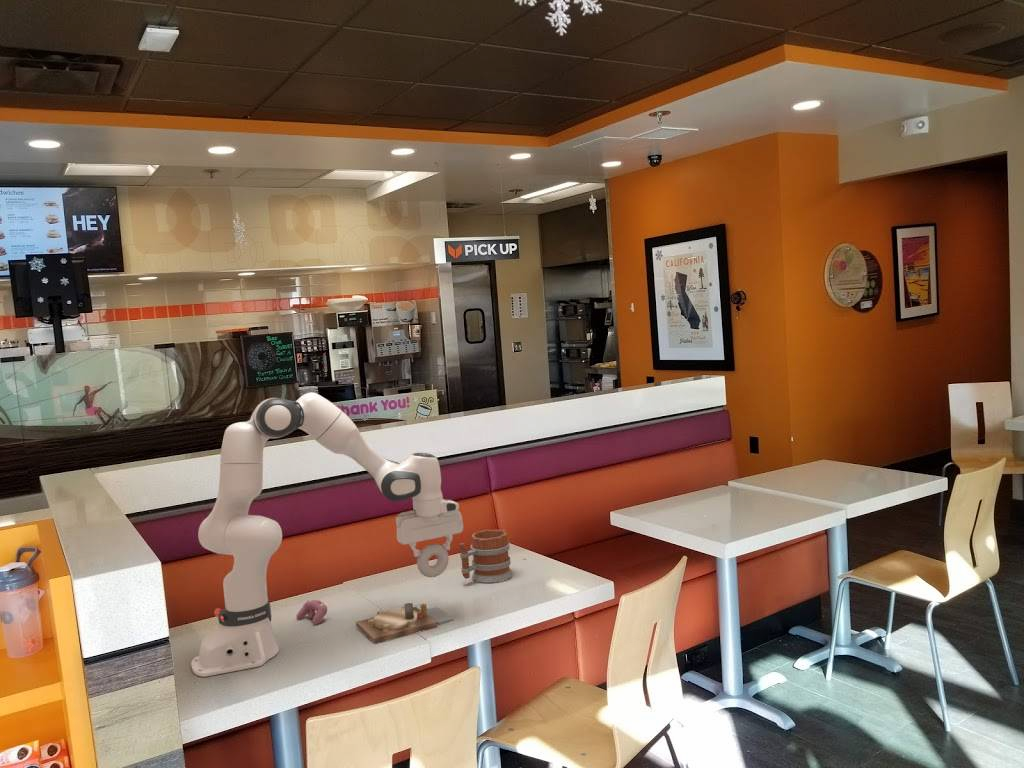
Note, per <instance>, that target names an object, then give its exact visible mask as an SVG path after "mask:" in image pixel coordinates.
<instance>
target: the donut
mask: <svg viewBox="0 0 1024 768" xmlns="http://www.w3.org/2000/svg"><path fill="white" fill-rule="evenodd" d="M420 554H421V555H420V556H419V557H416V566H417V570H418V571H419V573H420V574H421V575H423V576H424V577H427V578H436V577H438V576H440V575H442V574H443V573H444V572H445V570H446V569H447V567H448V564H449V560H450V559H449V552H448V550H447V551H446V550H445V548H444V547H443V545H441V544H438V543H431V544H428V545H426V546H424V547H423V548H422V549H421V550H420ZM432 556H436V558H437V561H436V563H435V564H433V565H430V564H429V560H430V558H431V557H432Z"/></svg>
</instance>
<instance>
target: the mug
mask: <svg viewBox="0 0 1024 768" xmlns="http://www.w3.org/2000/svg"><path fill="white" fill-rule="evenodd" d="M507 533H508V531H506V530H505V529H484V530H480V531H476V532H474V533H472V534H471V545H470V550H469V551H468V548H467V546H466V545H465V543H464V542H460V543H459V546H460V553H459V555H460V558H461V573H462V574H461V575H462V576H463V578H464V579H465V580H466V579H470V573H471V572H473V573H472V575H471V579H472V580H473V581H474V580H475V582H476V581H478V582H477V583H479V582H484V583H483V584H492V583H491V582H497V583H500V582H499V581H502V582H504V581H503V580H505V581H507V580H506V579H508V578H509V579H510V577H511V578H512V576H513V571H512V570H511V568H510V566H511V564H512V563H511V557H510V556H509V550H510V542H509V541H508V535H507ZM471 556H472V560H471V565H470V563H469V562H470V561H469V557H471ZM509 579H508V580H509ZM489 582H490V583H489Z"/></svg>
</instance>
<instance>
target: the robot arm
mask: <svg viewBox="0 0 1024 768" xmlns="http://www.w3.org/2000/svg"><path fill="white" fill-rule="evenodd" d="M297 429H299V430H301V431H303V432H305V433H307V434H308V435H309V436H310V437H311V438H312V439H313V440H314V441H316V443H318V444H319V445H321V446H322V447H323V448H325V449H326V450H329V451H330V452H332V453H334V454H336V455H343V456H346V457H349V458H351V459H352V460H353V461H355V462H356V463H357V464H358V465H360V467H362V468H363V469H364V470H366V471H367V472H368V474H370V475H371V477H372V478H373V480H374V482H375V485H376V487H377V488H378V489H379V490H380V492H381V493H382V495H383V496H384V498H386V499H387V500H389V501H392V502H402V501H406V500H409V499H412V506H413V507H412V508H413V509H412V510H407V511H402V512H400V513H399V514H398V515H396V517H395V525H396V541H397V542H398V543H399V544H401V545H403V546H405V545H409V547H410V548H411V550H412V551H413V557H415V558H418V557H419V556H420V555H421V554H420V552H421V550H420V549H418V548H416V547H417V543H418V542H424V541H429V540H433V539H438V538H443V537H445V538H446V540H445V543H442V546H443V547H444V548H445V550H446V551H447V552H448V551H450V550H451V546H450V545H451V543H452V541H453V538H454V537H453V535H457V534H461V533H462V532H463V531H464V522H463V516H462V513H461V512H460V510H459V509H460V504H459V503H458V502H456V501H454V500H451V499H448V498H447V499H445V498H444V497H443V492H442V489H441V485H442V473H441V467H440V462H439V459H438V458H437V457H436V456H435V455H433V454H432V453H429V452H428V453H427V452H415V453H412V454H411V455H410V456H409V457H408V458H407V459H405V460H404V461H403V462H401V463H399V462H397V461H394V460H390V459H387V458H386V457H384V456H383V455H381V454H380V453H379V452H378V451H377V449H374V447H372V446H371V445H370V444H369V443H368V442H367V441H366V440H365V439H364V437H363V436H362V434H361V431H360V430H359V428H358V427H357V426H356V424H355V423H354V421H352V419H351V418H350V417H349V416H348V415H347V414H346V413H345V412H344V411H343V410H342V409H340V408H339V407H338V406H336V405H335V404H334V403H332V401H330V400H329V399H327V398H325V397H323V396H322V395H320V394H318V393H316V392H307V393H305V394H303V395H300V397H299V398H298V399H297V400H291V399H290V400H289V399H286V398H282V397H281V398H279V397H270V398H267V399H264V400H263V401H261V402H260V403H259V404H258V405H257V406H256V407H255V409H253V411H252V413H251V415H250V416H249V418H248V419H247V421H239V422H235V423H232V424H230V425H228V426H227V427H226V429H225V431H224V434H223V439H222V444H221V448H220V449H221V450H220V463H219V464H220V465H219V485H218V493H217V496H216V500H215V503H214V506H213V507H212V510H211V512H210V513H209V514H208V516H207V517H206V518H205V519H203V521H201V523H200V525H199V527H198V536H197V537H198V542H199V544H200V545H201V547H202V548H204V549H206V550H208V551H210V552H212V553H216V554H218V555H226V556H227V555H229V556H233V565H232V570H231V571H229V572H228V573H227V575H225V576H224V578H223V581H222V585H223V586H222V588H223V597H224V605H225V606H224V608H223V609H221V608H220V607H216V608H215V609H214V610H213V611H214V615H215V617H216V618H217V619H218V624H216V625H215V626H214V628H212V629H211V631H210V632H208V634H206V635H205V636H204V637H203V638H202V640H201V642H200V645H199V651H198V652H199V653H198V654H199V655H197V656H195V657H194V658H193V659H192V660H191V662H190V663H191V664H190V665H191V666H190V668H191V671H192V673H194V674H195V676H198V677H202V678H203V677H204V678H205V677H210V676H215V675H221V674H226V673H231V672H237V671H241V670H242V671H243V670H247V669H251V668H252V669H253V668H258V667H261V666H263V665H264V664H265V663H266V662H267V661H269V660H270V659H271V658H272V659H273V658H274V657H275V656H277V655H278V653H279V651H280V648H279V646H278V643H277V641H276V638H275V635H274V631H273V626H272V607H271V606H272V605H271V603H270V602H271V601H270V600H269V598H268V586H267V584H268V583H267V571H268V566H269V562H270V560H271V557H272V556H273V555H274V554H275V553H276V552H277V550H278V549H279V548H280V546H281V544H282V541H283V531H282V528H281V526H280V524H279V522H277V520H274V519H272V518H269V517H266V516H264V515H263V516H262V515H255V514H253V515H252V514H249V511H250V507H251V504H252V502H253V501H254V499H256V498H257V497H259V495H260V494H261V493H262V491H263V481H264V480H263V474H264V473H263V472H264V470H263V469H264V449H265V445H266V443H267V442H268V440H269V439H279V438H282V437H285V436H287V435H289V434H291V433H293V432H294V431H296V430H297Z"/></svg>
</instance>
